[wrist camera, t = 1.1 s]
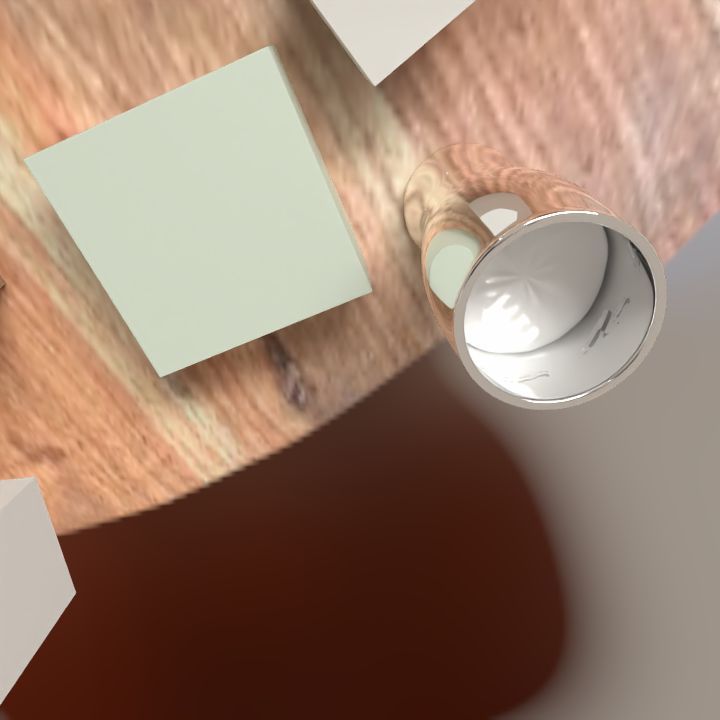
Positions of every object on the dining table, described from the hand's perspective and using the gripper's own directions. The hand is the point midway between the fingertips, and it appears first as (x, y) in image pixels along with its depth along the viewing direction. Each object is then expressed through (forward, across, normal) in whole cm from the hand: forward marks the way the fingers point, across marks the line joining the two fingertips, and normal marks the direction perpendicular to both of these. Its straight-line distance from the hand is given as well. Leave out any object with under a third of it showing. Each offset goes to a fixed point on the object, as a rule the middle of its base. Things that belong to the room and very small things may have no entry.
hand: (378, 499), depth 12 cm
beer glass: (+23, +4, +3) cm, 24 cm away
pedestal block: (+22, -8, +4) cm, 24 cm away
